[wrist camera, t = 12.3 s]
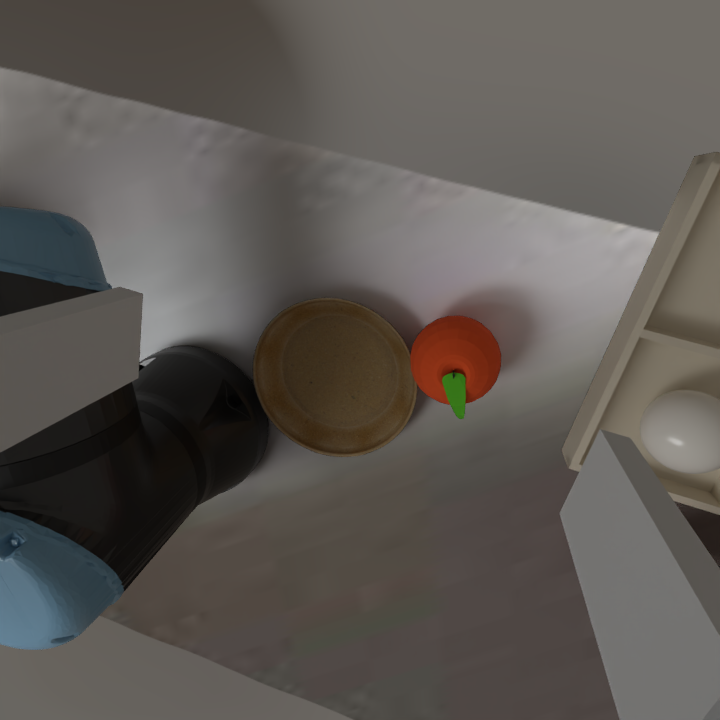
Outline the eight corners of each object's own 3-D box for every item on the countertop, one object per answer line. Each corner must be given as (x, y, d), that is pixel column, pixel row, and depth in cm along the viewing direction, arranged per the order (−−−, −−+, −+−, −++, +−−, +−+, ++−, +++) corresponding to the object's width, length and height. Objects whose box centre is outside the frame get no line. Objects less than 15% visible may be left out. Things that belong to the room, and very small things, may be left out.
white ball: (615, 434, 38) (641, 474, 32) (648, 368, 36) (682, 399, 30) (692, 457, 37) (732, 502, 32) (730, 391, 35) (780, 427, 29)
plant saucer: (455, 372, 40) (454, 383, 38) (348, 471, 46) (342, 486, 43) (329, 256, 39) (320, 259, 37) (235, 371, 45) (222, 380, 43)
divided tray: (561, 449, 40) (568, 468, 37) (694, 156, 31) (716, 151, 29) (709, 494, 39) (727, 517, 36) (891, 199, 30) (935, 199, 27)
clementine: (504, 391, 40) (512, 430, 33) (424, 400, 41) (415, 438, 35) (492, 300, 37) (498, 321, 31) (408, 314, 39) (396, 337, 33)
